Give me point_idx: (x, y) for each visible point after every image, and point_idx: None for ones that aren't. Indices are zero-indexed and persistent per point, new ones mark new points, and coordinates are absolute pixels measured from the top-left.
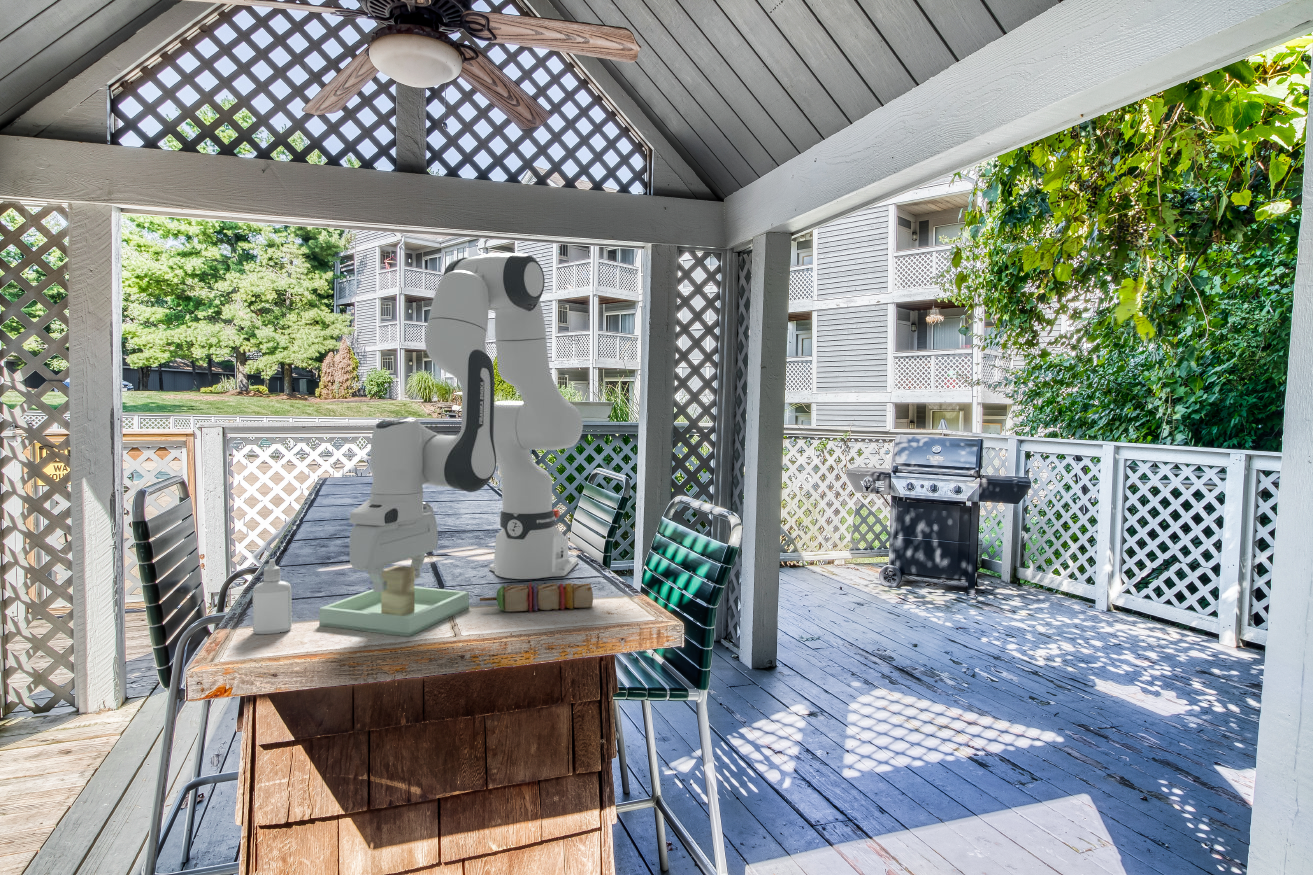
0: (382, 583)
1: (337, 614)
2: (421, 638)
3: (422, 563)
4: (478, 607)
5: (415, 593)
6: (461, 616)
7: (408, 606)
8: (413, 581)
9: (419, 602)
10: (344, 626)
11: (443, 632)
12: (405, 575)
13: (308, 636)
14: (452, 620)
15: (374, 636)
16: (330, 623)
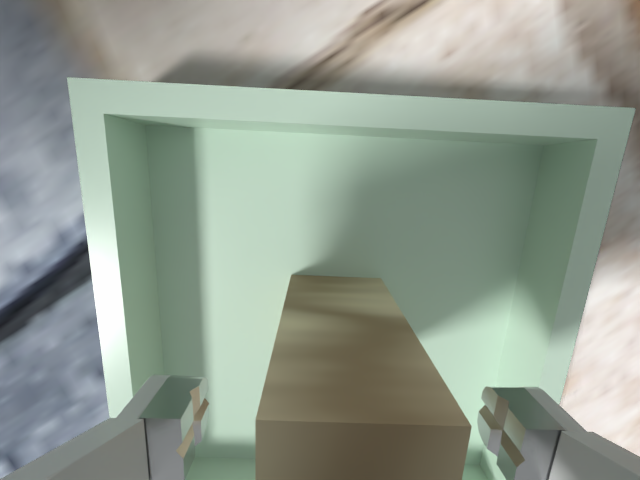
0: (569, 422)
1: None
2: (574, 60)
3: (57, 449)
4: (103, 57)
5: (146, 370)
6: (257, 60)
7: (331, 286)
8: (284, 342)
9: (180, 322)
10: None
11: (486, 10)
12: (385, 386)
13: None
14: (322, 68)
15: None
16: None
